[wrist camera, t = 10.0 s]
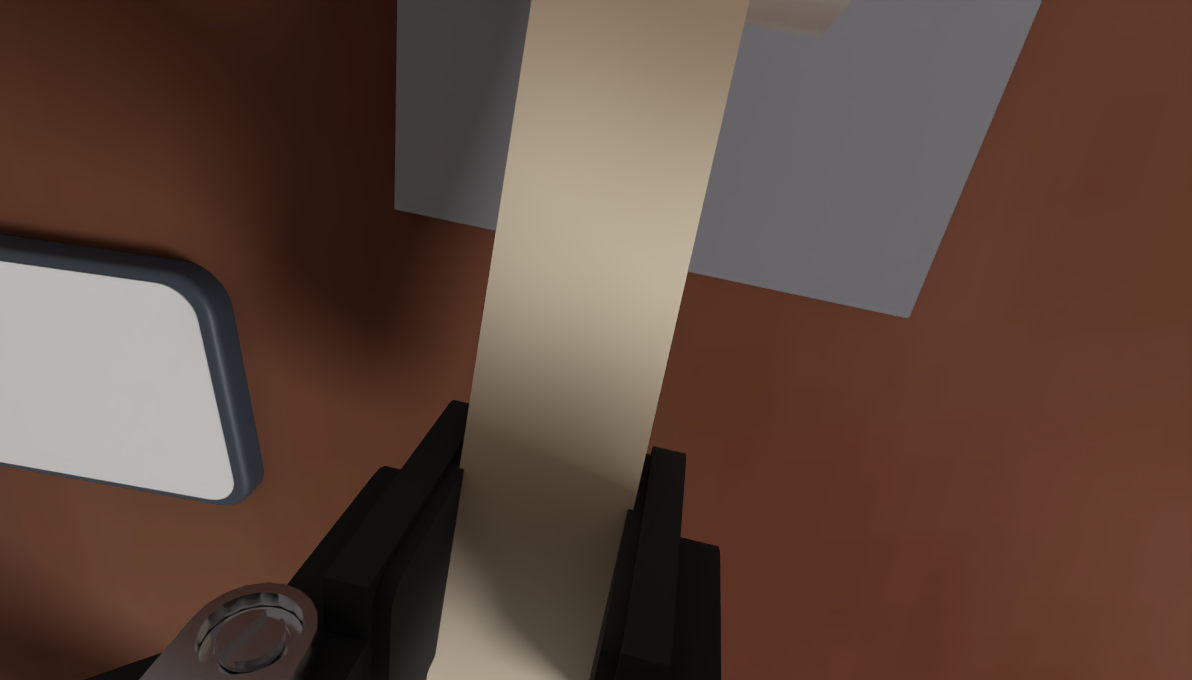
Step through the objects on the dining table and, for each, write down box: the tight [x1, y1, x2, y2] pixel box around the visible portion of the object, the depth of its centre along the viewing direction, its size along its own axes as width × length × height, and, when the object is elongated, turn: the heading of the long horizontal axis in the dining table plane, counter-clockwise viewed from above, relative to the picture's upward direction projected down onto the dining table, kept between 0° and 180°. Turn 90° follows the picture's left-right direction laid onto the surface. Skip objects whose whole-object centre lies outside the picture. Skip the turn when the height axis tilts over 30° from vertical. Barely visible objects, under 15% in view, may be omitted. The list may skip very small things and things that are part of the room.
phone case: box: [0, 234, 264, 505], centre depth 22 cm, size 9×2×16 cm
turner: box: [427, 0, 852, 680], centre depth 10 cm, size 15×5×5 cm, turn 171°
